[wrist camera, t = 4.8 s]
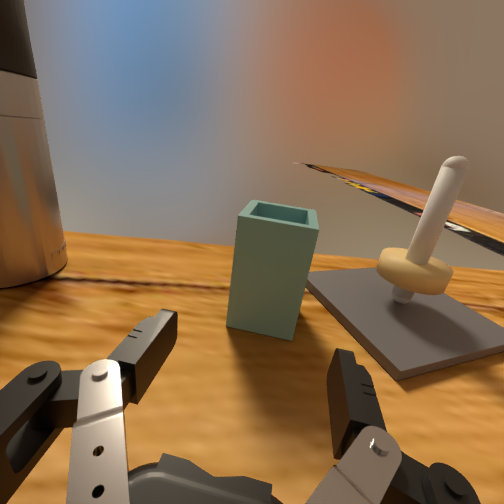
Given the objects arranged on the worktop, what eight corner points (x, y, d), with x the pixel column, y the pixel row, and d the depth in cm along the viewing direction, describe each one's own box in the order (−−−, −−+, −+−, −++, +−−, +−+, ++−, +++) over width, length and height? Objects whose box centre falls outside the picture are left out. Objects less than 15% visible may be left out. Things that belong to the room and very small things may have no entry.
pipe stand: (395, 381, 20) (504, 157, 14) (298, 279, 33) (331, 138, 26) (518, 347, 26) (634, 179, 19) (395, 272, 38) (440, 155, 32)
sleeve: (225, 326, 23) (238, 215, 19) (240, 291, 28) (252, 199, 24) (292, 340, 22) (319, 229, 18) (294, 303, 28) (315, 210, 24)
